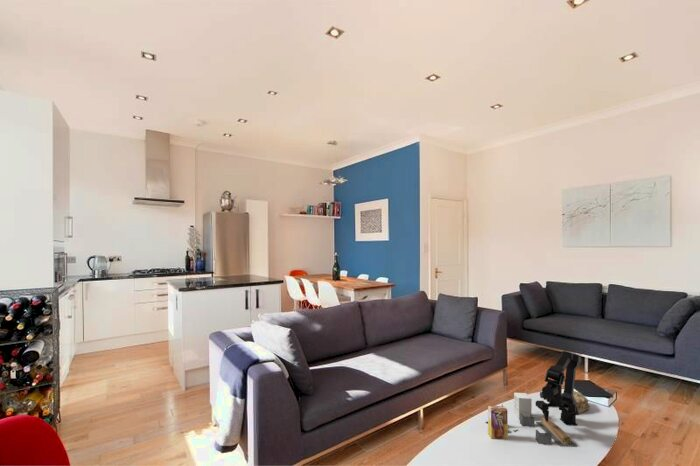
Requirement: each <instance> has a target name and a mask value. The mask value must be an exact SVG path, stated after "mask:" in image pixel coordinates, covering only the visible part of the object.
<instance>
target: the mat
mask: <svg viewBox="0 0 700 466" xmlns="http://www.w3.org/2000/svg"><path fill="white" fill-rule="evenodd" d="M535 423H536V424H537V426H539V428H541V429H542V430H543V431H544V433H547V430H548V429H547V428H546V427H545V426H544V425H543V424H542V421H535ZM550 432H551V431H550ZM551 433H552V432H551ZM552 441H554V442H555V443H556V444H557V445H558V446H559V447H567V448H568V447H571V448H572V447H575V448H577V447H578V445H577V444H576V443H575V442H573V440H571V445H565V444H563V443H562V442H561V441H560V440H559V439H558V438H557V437H556V436H555V435H554V434H553V433H552Z"/></svg>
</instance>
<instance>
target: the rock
mask: <svg viewBox="0 0 700 466" xmlns="http://www.w3.org/2000/svg"><path fill="white" fill-rule="evenodd" d="M563 393H564V392H562V394H563ZM573 396H574V398H575V400H576V405H577V407H578V409H579V412H578V415H580V414H582V413H585V412H586V411H589V409H591V408H590V407H591V406H590V404H589V400H588V398H587V397H586V396H585V395H583V393H582V392H580V391H575V390H574V393H573Z"/></svg>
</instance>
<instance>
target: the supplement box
mask: <svg viewBox="0 0 700 466" xmlns="http://www.w3.org/2000/svg"><path fill="white" fill-rule="evenodd" d="M532 400H533V399H532V398H531V397H530V396H529V394H528V393H526V392H513V414H514V415H515V416H516V418H517V419H518V420H520V414H522V415H523V416H525V417H530V414H532V412H533V411H532V410H533V409H532V407H533V406H532ZM532 415H533V414H532Z"/></svg>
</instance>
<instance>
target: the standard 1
mask: <svg viewBox="0 0 700 466" xmlns="http://www.w3.org/2000/svg"><path fill="white" fill-rule="evenodd" d="M535 422H536V421H535V416H534V415H533V414H530V417H525V416H523V415H522V414H520V419H519V424H520V425H521V426H522V427H530V428H531V427H532V428H533V427H534V428H535Z"/></svg>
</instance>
